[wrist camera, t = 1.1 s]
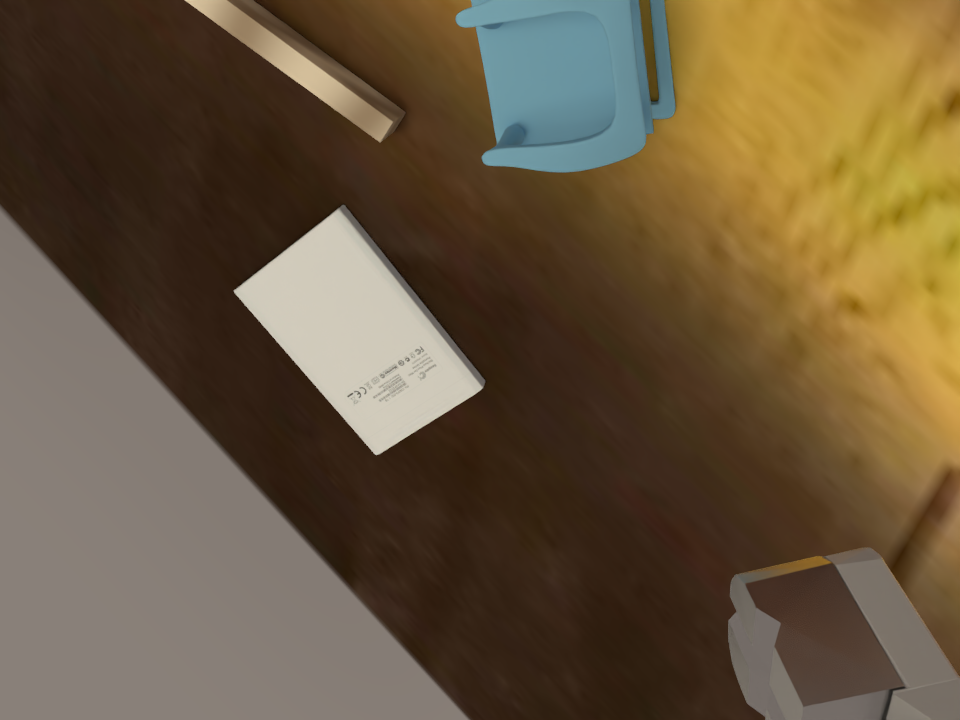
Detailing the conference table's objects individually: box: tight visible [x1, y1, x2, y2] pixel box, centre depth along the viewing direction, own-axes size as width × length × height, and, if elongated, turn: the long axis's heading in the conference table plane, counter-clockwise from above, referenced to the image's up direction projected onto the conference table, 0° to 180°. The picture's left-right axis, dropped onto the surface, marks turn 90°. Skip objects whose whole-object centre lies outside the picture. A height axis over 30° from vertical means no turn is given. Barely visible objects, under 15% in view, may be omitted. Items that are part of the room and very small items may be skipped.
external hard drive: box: [234, 205, 485, 455], centre depth 51 cm, size 2×8×12 cm
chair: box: [456, 0, 675, 172], centre depth 37 cm, size 8×8×12 cm
